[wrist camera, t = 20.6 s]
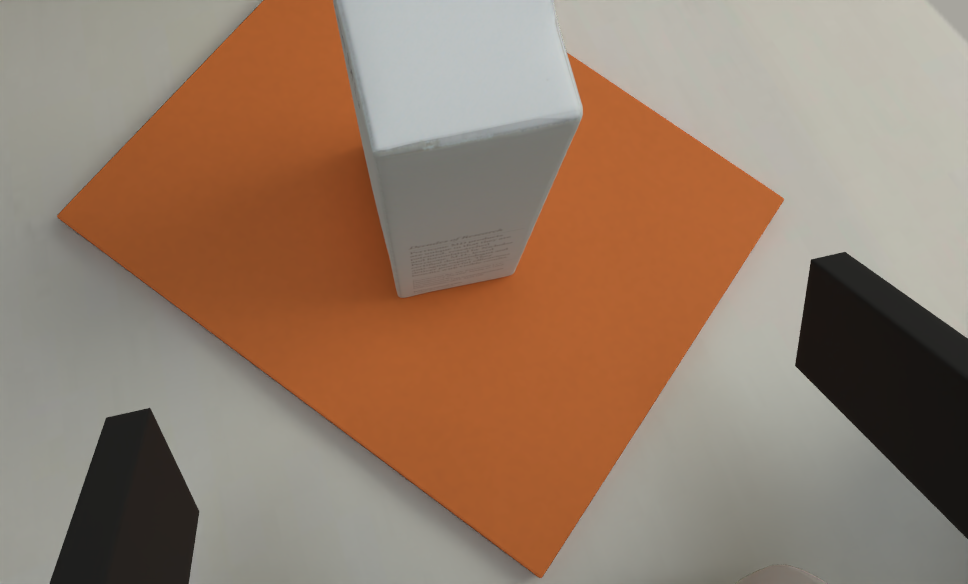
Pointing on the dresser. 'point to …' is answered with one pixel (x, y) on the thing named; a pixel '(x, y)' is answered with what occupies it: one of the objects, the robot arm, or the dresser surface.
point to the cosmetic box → (458, 128)
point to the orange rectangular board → (438, 314)
